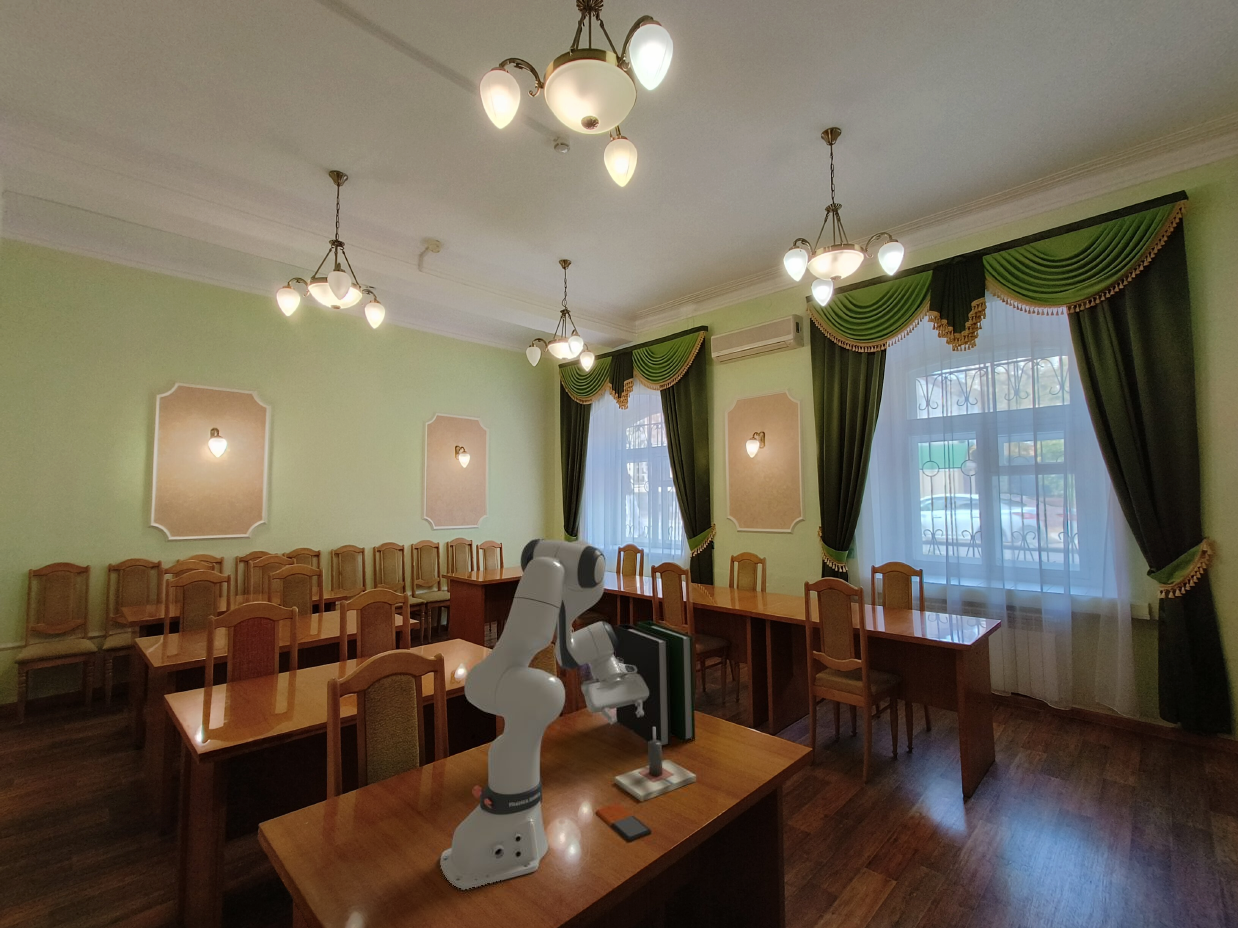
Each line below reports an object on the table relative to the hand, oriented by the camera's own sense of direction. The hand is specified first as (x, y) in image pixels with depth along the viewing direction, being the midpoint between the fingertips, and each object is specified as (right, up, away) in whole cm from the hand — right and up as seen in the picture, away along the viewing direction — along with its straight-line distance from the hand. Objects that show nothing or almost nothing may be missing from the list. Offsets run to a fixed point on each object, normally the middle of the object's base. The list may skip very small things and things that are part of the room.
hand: (627, 719), depth 166 cm
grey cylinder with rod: (+7, -10, -10) cm, 16 cm away
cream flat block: (+7, -12, -12) cm, 18 cm away
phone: (-2, -11, -31) cm, 33 cm away
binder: (+9, -14, +23) cm, 28 cm away
